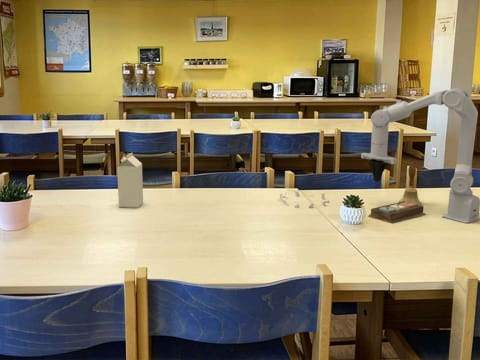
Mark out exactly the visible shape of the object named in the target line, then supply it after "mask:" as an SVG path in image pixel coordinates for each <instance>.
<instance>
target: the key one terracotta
mask: <svg viewBox="0 0 480 360" xmlns="http://www.w3.org/2000/svg"><path fill="white" fill-rule="evenodd" d="M399 205H402V206H405V207H406V208H410V207H414V206H416V204H413V203H408V202H404V203H400V204H399Z"/></svg>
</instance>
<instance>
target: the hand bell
mask: <svg viewBox="0 0 480 360" xmlns="http://www.w3.org/2000/svg"><path fill="white" fill-rule="evenodd" d="M416 171H417V170H416V163H415V161H410V163H409V166H408V177H409V180H408V188H407V187H406V188H405V189H404V193H403V195H402V198H401V199H400V200H398V203H399V202H403V201H405V202H409V203H413V204H417V205H421V206H422V201H420V199H419V195H418V190H417V188H415V183H414V182H415V181H414V180H415V177H416V176H415V175H416Z"/></svg>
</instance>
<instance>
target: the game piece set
mask: <svg viewBox="0 0 480 360" xmlns="http://www.w3.org/2000/svg"><path fill="white" fill-rule="evenodd" d="M287 193H288V190H285V193H284V194H283V193H282V192H280V193H279V199H277V201H278V202H281V203H283V204H284V205H287V203H288V201H287V199H288V197H287V196H286V194H287ZM294 193H295V197H299V195H300V192H299V189H298V188H295V189H294ZM314 195H315V193H312V194H310V195H309V197H310V198H313V197H314ZM320 195H321V201H320V202H321V205H320V206H321V207H327V205H326V203H327V204H328V203H330V200H329V198H326V200H325V191H322V192H320ZM299 204H300V203H299V202H295V203H294V208H296V209H298V208H300V205H299ZM314 206H315V205H314V201H311V202H310V203H309V204H308V207H310V208H311V209H313V207H314Z"/></svg>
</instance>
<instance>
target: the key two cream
mask: <svg viewBox="0 0 480 360" xmlns="http://www.w3.org/2000/svg"><path fill="white" fill-rule="evenodd" d="M389 207H390V208H394V209H396V211H397V210H402V209H406V207H405V206H402V205H398V204H396V205H391V206H389Z"/></svg>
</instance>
